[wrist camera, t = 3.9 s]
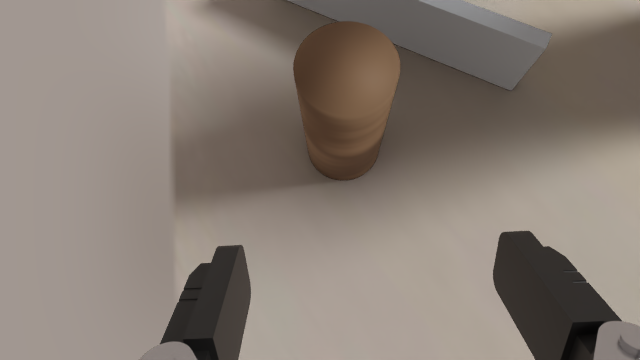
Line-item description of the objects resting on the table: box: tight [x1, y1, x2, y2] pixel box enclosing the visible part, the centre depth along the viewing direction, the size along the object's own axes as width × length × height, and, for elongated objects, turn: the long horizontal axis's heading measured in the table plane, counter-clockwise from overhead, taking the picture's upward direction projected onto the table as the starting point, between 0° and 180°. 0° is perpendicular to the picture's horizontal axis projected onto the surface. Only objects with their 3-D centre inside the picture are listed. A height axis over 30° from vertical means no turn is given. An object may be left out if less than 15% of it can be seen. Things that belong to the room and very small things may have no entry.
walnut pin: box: [293, 21, 400, 180], centre depth 23 cm, size 5×5×10 cm
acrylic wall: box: [287, 0, 552, 91], centre depth 28 cm, size 20×1×5 cm, turn 62°
